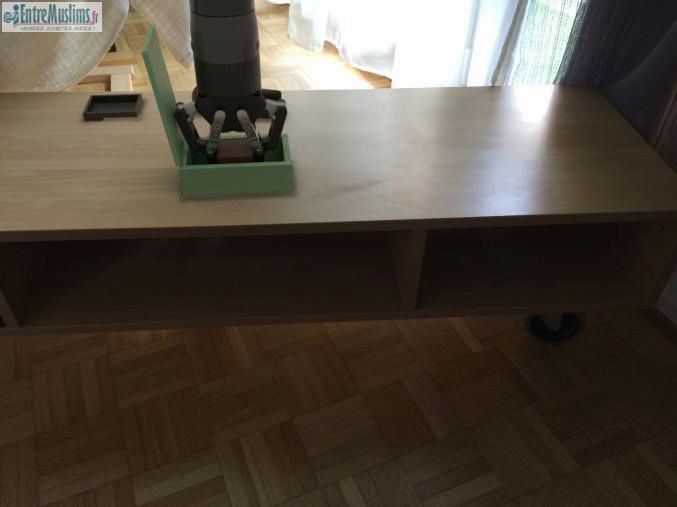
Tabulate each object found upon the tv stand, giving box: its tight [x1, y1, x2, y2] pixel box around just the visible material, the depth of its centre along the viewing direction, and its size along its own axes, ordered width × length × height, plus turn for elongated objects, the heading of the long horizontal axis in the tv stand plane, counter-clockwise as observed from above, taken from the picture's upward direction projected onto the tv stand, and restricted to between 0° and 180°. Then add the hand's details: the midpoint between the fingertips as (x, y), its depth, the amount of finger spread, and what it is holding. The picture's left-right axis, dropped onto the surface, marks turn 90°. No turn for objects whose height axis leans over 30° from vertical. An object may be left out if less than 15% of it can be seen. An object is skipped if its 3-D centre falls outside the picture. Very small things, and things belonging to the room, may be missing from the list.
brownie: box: [217, 139, 253, 164], centre depth 79 cm, size 4×4×4 cm
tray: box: [82, 93, 144, 122], centre depth 95 cm, size 8×6×2 cm
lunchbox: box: [178, 133, 293, 198], centre depth 79 cm, size 14×8×5 cm, turn 97°
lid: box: [140, 24, 184, 167], centre depth 72 cm, size 14×8×1 cm
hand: (237, 176), depth 80 cm, fingers closed on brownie, 4 cm apart
